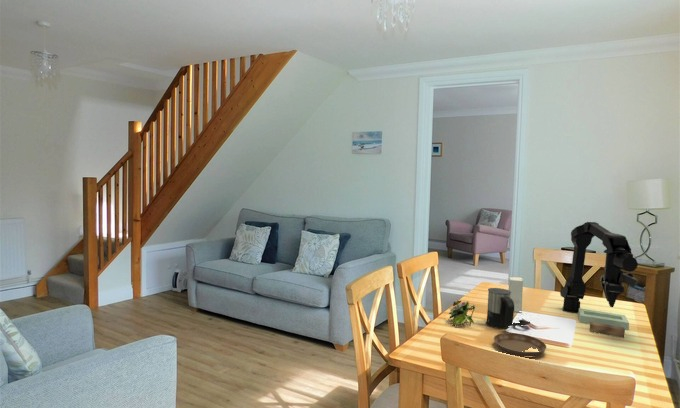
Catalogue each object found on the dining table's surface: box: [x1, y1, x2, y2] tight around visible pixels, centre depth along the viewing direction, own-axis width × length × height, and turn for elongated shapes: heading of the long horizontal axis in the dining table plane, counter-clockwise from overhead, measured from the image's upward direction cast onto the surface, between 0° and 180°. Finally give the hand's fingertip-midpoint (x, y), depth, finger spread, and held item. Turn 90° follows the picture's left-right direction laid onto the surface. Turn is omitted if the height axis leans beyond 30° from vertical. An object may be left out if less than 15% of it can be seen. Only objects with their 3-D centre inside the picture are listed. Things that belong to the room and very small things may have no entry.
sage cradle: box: [577, 307, 630, 331], centre depth 197 cm, size 18×12×3 cm, turn 65°
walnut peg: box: [588, 322, 626, 339], centre depth 182 cm, size 12×4×4 cm, turn 63°
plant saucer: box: [493, 332, 547, 358], centre depth 162 cm, size 18×18×3 cm
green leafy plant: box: [448, 300, 476, 327], centre depth 186 cm, size 11×11×12 cm
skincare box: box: [508, 276, 524, 313], centre depth 209 cm, size 8×6×15 cm
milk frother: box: [485, 287, 531, 330], centre depth 186 cm, size 14×16×15 cm
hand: (609, 304), depth 181 cm, fingers open, 9 cm apart
